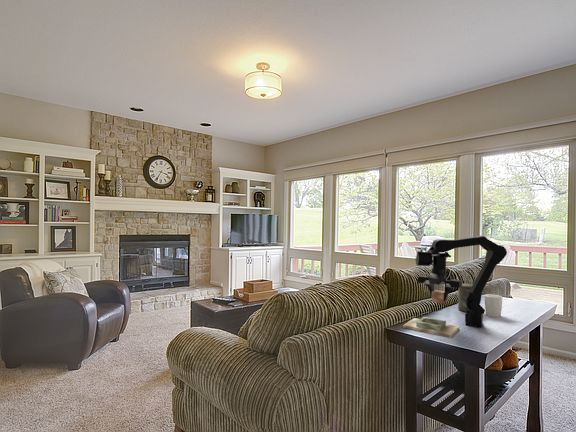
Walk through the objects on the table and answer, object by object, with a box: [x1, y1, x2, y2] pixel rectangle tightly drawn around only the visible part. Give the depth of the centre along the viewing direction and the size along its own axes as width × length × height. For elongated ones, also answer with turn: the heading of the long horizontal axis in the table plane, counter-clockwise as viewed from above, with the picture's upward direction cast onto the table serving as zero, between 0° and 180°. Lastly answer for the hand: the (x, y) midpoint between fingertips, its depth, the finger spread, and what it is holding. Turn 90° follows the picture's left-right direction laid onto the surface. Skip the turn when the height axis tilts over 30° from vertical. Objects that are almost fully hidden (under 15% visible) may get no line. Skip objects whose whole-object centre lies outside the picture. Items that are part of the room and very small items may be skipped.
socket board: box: [402, 316, 460, 338], centre depth 158 cm, size 20×14×3 cm
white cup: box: [484, 293, 503, 318], centre depth 179 cm, size 8×8×10 cm
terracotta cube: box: [431, 289, 447, 305], centre depth 165 cm, size 5×5×5 cm
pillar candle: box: [457, 282, 474, 313], centre depth 188 cm, size 10×10×15 cm
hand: (438, 299), depth 165 cm, fingers closed on terracotta cube, 5 cm apart
